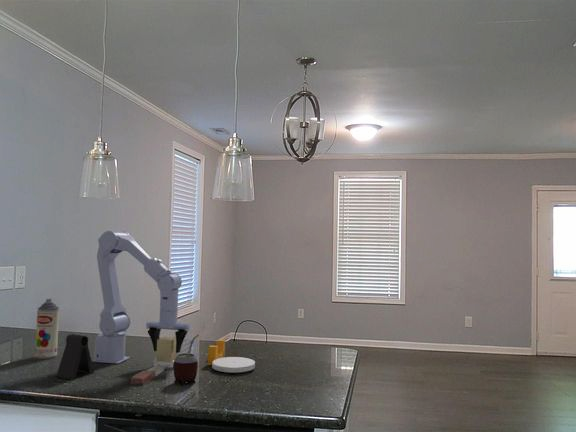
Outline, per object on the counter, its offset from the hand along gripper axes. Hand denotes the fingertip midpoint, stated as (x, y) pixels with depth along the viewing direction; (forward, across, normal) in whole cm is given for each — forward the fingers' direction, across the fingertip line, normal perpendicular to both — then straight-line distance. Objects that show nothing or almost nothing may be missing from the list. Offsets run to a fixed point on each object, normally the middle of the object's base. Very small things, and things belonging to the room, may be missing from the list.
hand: (167, 351), depth 164 cm
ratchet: (+5, 0, -8) cm, 10 cm away
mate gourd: (+5, +13, -16) cm, 21 cm away
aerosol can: (+5, -44, 0) cm, 44 cm away
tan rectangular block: (+3, 0, 0) cm, 3 cm away
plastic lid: (+5, +22, +3) cm, 23 cm away
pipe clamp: (+5, +13, +11) cm, 18 cm away
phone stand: (+5, -22, -17) cm, 28 cm away
